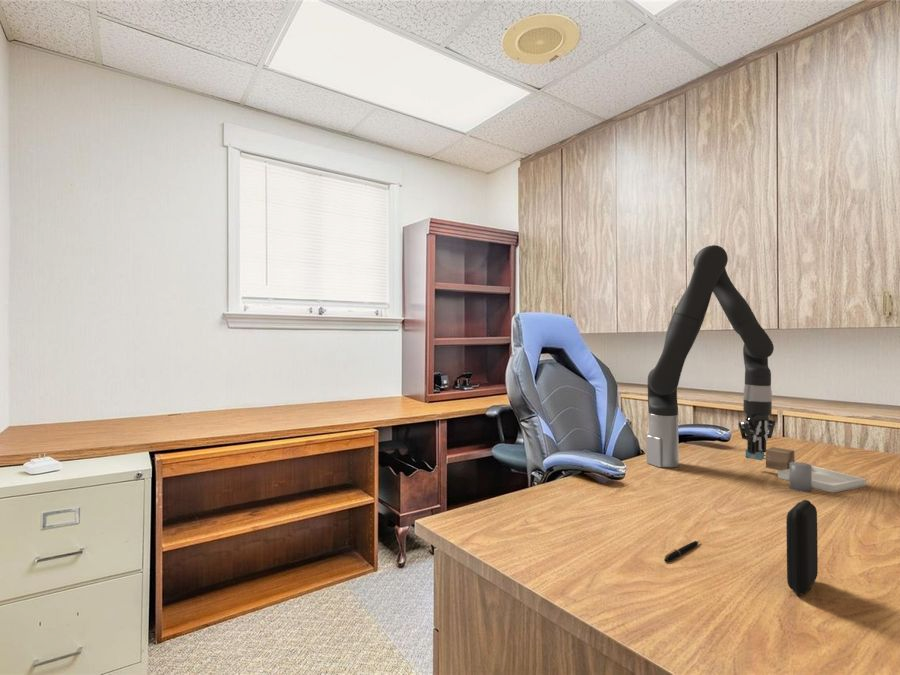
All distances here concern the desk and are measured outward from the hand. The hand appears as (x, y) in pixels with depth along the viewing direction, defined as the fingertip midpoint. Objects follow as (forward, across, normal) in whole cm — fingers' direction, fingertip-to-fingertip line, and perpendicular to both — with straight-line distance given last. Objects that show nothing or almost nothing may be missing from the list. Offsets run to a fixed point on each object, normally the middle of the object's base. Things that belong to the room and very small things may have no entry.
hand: (756, 452), depth 148 cm
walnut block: (+6, -10, 0) cm, 12 cm away
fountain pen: (+7, +66, +33) cm, 74 cm away
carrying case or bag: (+7, +57, +50) cm, 76 cm away
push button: (+2, 0, 0) cm, 2 cm away
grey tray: (+6, -7, +14) cm, 17 cm away
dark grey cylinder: (+6, +5, +16) cm, 18 cm away
